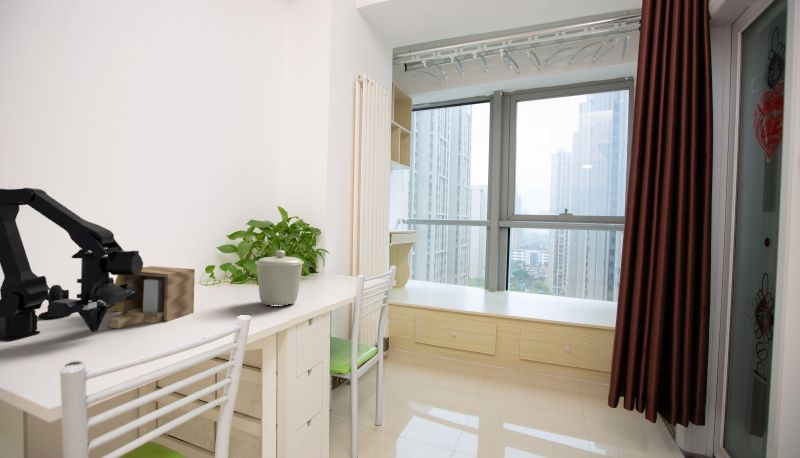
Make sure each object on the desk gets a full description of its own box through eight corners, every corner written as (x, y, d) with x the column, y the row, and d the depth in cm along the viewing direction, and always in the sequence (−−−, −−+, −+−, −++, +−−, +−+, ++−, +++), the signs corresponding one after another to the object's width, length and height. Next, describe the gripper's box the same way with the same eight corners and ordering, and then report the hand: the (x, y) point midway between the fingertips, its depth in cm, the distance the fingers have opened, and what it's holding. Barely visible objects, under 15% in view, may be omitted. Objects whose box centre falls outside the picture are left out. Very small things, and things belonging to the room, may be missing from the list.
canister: (279, 296, 147) (281, 247, 146) (312, 302, 138) (314, 250, 138) (243, 305, 130) (244, 249, 130) (278, 312, 122) (279, 253, 122)
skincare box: (150, 312, 114) (152, 276, 114) (164, 312, 115) (166, 277, 116) (141, 317, 109) (143, 279, 109) (157, 317, 110) (159, 279, 110)
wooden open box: (166, 321, 107) (167, 274, 107) (120, 317, 110) (121, 270, 110) (193, 312, 118) (194, 269, 118) (150, 308, 121) (151, 266, 121)
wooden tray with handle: (129, 330, 98) (129, 320, 98) (98, 326, 101) (99, 317, 101) (181, 315, 116) (181, 307, 116) (154, 312, 118) (154, 304, 118)
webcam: (71, 317, 108) (71, 285, 108) (36, 321, 103) (37, 288, 103) (72, 311, 114) (72, 281, 113) (40, 315, 109) (40, 284, 109)
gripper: (84, 282, 83) (83, 346, 84) (151, 271, 102) (149, 324, 102) (46, 279, 85) (45, 342, 85) (118, 269, 103) (117, 320, 104)
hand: (94, 331), depth 94 cm, fingers closed
